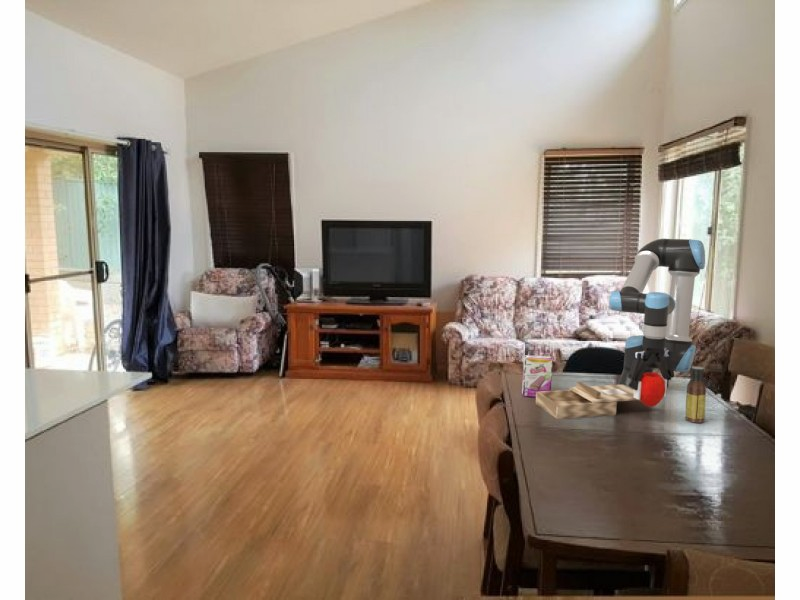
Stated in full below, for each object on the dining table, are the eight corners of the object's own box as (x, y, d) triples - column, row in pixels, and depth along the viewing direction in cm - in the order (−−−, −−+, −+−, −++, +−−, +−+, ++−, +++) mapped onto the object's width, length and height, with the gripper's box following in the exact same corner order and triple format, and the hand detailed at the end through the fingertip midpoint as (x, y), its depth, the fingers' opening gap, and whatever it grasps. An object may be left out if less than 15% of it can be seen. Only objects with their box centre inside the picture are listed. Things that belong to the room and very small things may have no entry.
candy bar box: (522, 397, 232) (524, 357, 230) (521, 393, 237) (523, 354, 235) (551, 398, 231) (553, 359, 229) (549, 395, 236) (551, 356, 234)
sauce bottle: (702, 419, 211) (707, 366, 208) (705, 424, 205) (710, 370, 202) (682, 416, 213) (687, 364, 210) (685, 422, 207) (690, 368, 204)
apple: (641, 398, 213) (643, 366, 211) (668, 404, 206) (671, 372, 204) (629, 404, 206) (631, 371, 204) (657, 411, 199) (660, 377, 197)
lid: (623, 386, 232) (623, 378, 232) (650, 399, 216) (651, 391, 215) (569, 389, 226) (569, 381, 226) (593, 402, 210) (593, 394, 210)
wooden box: (590, 400, 230) (591, 388, 229) (615, 415, 213) (616, 402, 212) (535, 404, 224) (536, 391, 223) (557, 418, 208) (557, 405, 207)
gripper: (674, 332, 208) (669, 391, 212) (619, 335, 203) (615, 396, 207) (689, 337, 201) (683, 398, 205) (632, 340, 196) (628, 403, 200)
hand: (649, 397), depth 206 cm, fingers closed on apple, 10 cm apart
